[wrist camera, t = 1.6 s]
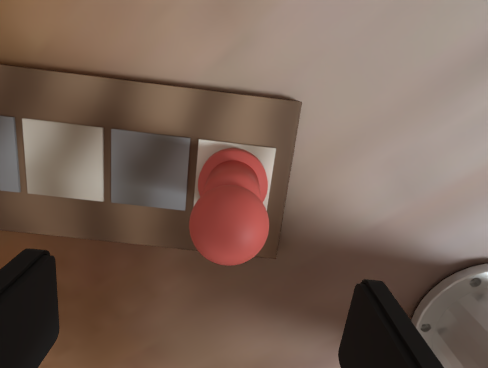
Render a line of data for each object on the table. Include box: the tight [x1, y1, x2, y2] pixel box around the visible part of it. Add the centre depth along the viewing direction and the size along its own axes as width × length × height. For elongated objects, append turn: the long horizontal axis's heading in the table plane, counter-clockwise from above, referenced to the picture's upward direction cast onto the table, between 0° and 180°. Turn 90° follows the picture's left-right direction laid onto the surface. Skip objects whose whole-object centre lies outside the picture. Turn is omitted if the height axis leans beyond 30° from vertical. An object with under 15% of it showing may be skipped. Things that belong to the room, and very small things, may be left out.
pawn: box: [189, 148, 269, 266], centre depth 20 cm, size 5×5×10 cm
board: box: [0, 64, 302, 259], centre depth 25 cm, size 26×12×1 cm, turn 83°
